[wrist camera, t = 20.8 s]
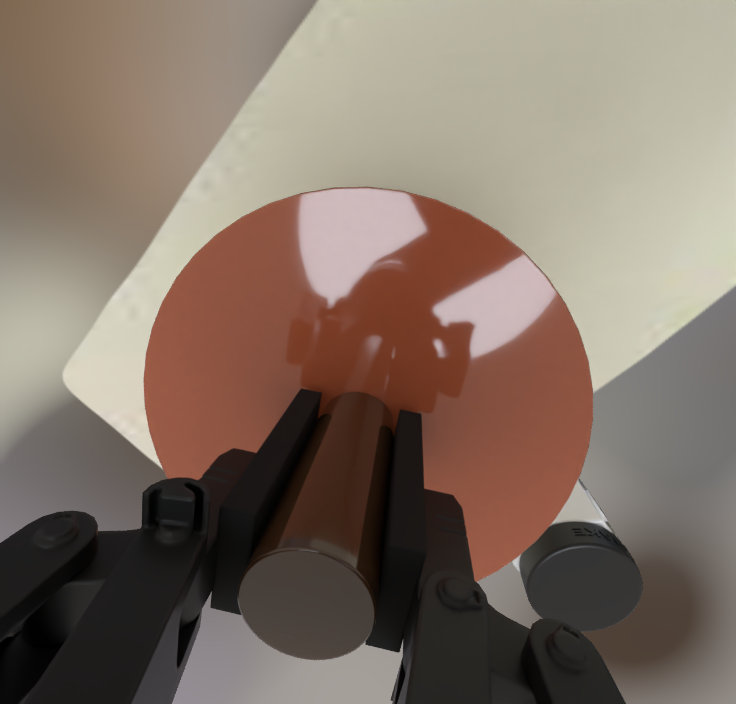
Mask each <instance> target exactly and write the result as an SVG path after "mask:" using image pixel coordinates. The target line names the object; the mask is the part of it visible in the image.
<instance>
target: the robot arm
mask: <svg viewBox="0 0 736 704" xmlns="http://www.w3.org/2000/svg"><path fill="white" fill-rule="evenodd" d="M321 396H322V393H321V392H317V391H312V390H307V389H302V388H301V389H300V390H299V392H298V393H297V395H296V396H295V398H294V399H293V401H292V402H291V403H290V405H289V406H288V408H287V409H286V411H285V412H284V414H283V415H282V417H281V418H280V420H279V421H278V422H277V424H276V425H275V427H274V428H273V430H272V431H271V433H270V434H269V436H268V437H267V438H266V440H265V441H264V443H263V444H262V446H261V447H260V449H259V450H258V452H257V453H255V452H250V451H246V450H241V449H236V448H232V449H231V450H229V451H227V452H225V453H223V454H221V455H219V456H218V457H217V458H216V460H215V461H214V462H213V463H212V464H211V466H210V468H209V469H207V470H206V472H205V473H204V474H203V475H202V478H200V479H199V480H196V479H192V478H184V477H175V478H170V479H166V480H162V481H159V482H157V483H155V484H153V485H151V486H150V487H149V488H147V489H146V490H145V491H144V492H143V499H142V501H143V502H142V527H141V528H140V529H137V530H127V531H98V525H97V522H96V520H95V518H94V517H92V516H91V515H89V514H87V513H85V512H78V511H64V512H57V513H53V514H50V515H46V516H43V517H41V518H39V519H37V520H35V521H33V522H31V523H30V524H28V525H26V526H25V527H23V528H22V529H20V530H19V531H18V532H16V533H15V534H13V535H12V536H10V537H9V538H8V539H6V540H4V541H3V542H1V543H0V704H172V701H173V699H174V696H175V693H176V691H177V688H178V685H179V682H180V680H181V677H182V674H183V672H184V669H185V666H186V663H187V661H188V658H189V655H190V652H191V650H192V647H193V644H194V641H195V639H196V636H197V633H198V631H199V628H200V621H201V613H202V612H201V611H202V608H203V606H204V604H205V602H206V601H207V599H208V597H209V595H210V593H211V591H212V596H211V608H214V609H218V610H222V611H227V612H231V613H235V614H239V615H242V614H241V612H240V609H239V605H238V585H239V581H240V578H241V576H242V574H243V572H244V569H245V567H246V565H247V563H248V561H249V559H250V557H251V555H252V553H253V551H254V549H255V547H256V545H257V543H258V541H259V539H260V537H261V535H262V533H263V531H264V529H265V527H266V525H267V523H268V521H269V518H270V516H271V514H272V512H273V510H274V508H275V506H276V504H277V502H278V500H279V498H280V496H281V494H282V492H283V490H284V488H285V486H286V484H287V482H288V480H289V478H290V476H291V474H292V472H293V469H294V467H295V465H296V463H297V461H298V459H299V457H300V455H301V453H302V451H303V449H304V447H305V445H306V443H307V441H308V439H309V437H310V435H311V433H312V431H313V429H314V427H315V425H316V423H317V420H318V414H319V408H320V402H321ZM464 524H465V520H464V514H463V508H462V507H461V505H460V504H459V503H458V501H457V500H456V498H455V497H454V495H452V494H447V493H443V492H438V491H434V490H429V489H424V467H423V440H422V414H421V413H416V412H411V411H406V410H402V409H400V412H399V416H398V421H397V425H396V429H395V434H394V440H393V450H392V461H391V471H390V482H389V492H388V503H387V513H386V524H385V534H384V545H383V555H382V566H381V576H380V586H379V601H378V612H377V619H376V623H375V626H374V629H373V631H372V632H371V634H370V636H369V637H368V638H367V640H366V645H369V646H374V647H378V648H382V649H386V650H390V651H394V652H400V648H401V644H402V641H403V658H402V661H401V665H400V668H399V672H398V675H397V679H396V683H395V686H394V690H393V693H392V697H391V701H393V704H626V703H625V701H624V699H623V697H622V696H621V693H620V692H619V690H618V688H617V686H616V684H615V682H614V680H613V678H612V676H611V674H610V673H609V671H608V669H607V667H606V665H605V663H604V661H603V659H602V657H601V655H600V654H599V653H598V651H597V650H596V649H595V647H594V645H593V644H592V642H590V641H589V640H588V639H587V638H586V637H585V636H584V635H583V634H582V633H581V632H580V631H578V630H577V629H575V628H573V627H572V626H570V625H568V624H567V623H565V622H562V621H559V620H555V619H552V618H549V619H540V620H538V621H536V622H535V623H533V624H532V627H531V629H529V628H527V627H525V626H523V625H521V624H519V623H517V622H515V621H513V620H511V619H509V618H507V617H506V616H504V615H502V614H501V613H499V612H498V611H496V610H495V609H494V608H493V607H492V606H491V605H489V604H488V601H487V597H486V594H485V593H484V591H483V590H482V589H481V587H480V585H479V584H478V583H477V582H475V580H474V574H473V568H472V562H471V556H470V550H469V544H468V538H467V536H466V534H467V532H466V526H465V525H464Z"/></svg>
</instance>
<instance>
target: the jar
mask: <svg viewBox="0 0 736 704" xmlns="http://www.w3.org/2000/svg"><path fill="white" fill-rule="evenodd" d="M512 562H513V565H514V566H515V567H516V569H517V570H518V571H519V572H520V574H521V577H522V579H523V583H524V587H525V590H526V593H527V597H528V600H529V602H530V604H531V606H532V607H533V609H534V610H535V612H536V613H537V614H538V615H539V616H541V618H543V619H549V618H552V619H555V620H559V621H562V622H565V623H567V624H568V625H570V626H572V627H573V628H575V629H577V630H578V631H580V632H586V631H596V630H601V629H605V628H608V627H610V626H612V625H615V624H617V623H619V622H621V621H622V620H623V619H625V618H626V617H627V616H629V615H630V614H631V613H632V612H633V610H634V609H635V608H636V606H637V605H638V603H639V601H640V598H641V595H642V590H643V582H642V577H641V574H640V572H639V570H638V567H637V566H636V564H635V562H634V559H633V558H632V556H631V554H630V553H629V552H628V550H627V548H626V547H625V546H624V545H623V544H622V543H621V541H620V540H619V538H618V537H617V535H616V534H615V532H614V531H613V529H612V528H611V526H610V525H609V523H608V519H607V517H606V516H605V514H604V513H603V512H602V510H601V508H600V507H599V506H598V504H597V502H596V501H595V499H594V498H593V497H592V495H591V494H590V492H589V491H588V490H587V489H586V487H585V486H584V485H583V483H582V482H581V481H580V479H579V478H578V480H577V482H576V484H575V487H574V489H573V491H572V493H571V495H570V497H569V499H568V500H567V502H566V503H565V505H564V507H563V508H562V510H561V511H560V513H559V514H558V516H557V517H556V519H555V520H554V521H553V522H552V524H551V525H550V526H549V527H548V528H547V529H546V530H545V532H544V533H543V534H542V535H541V536H540V537H539V538H538V540H537V541H535V542H534V543H533V544H532V545H531V546H530V547H529V548H527V549H526V550H525V551H524V552H523V553H522V554H521V555H519V556H518V557H517V558H516V559H514V560H513V561H512Z"/></svg>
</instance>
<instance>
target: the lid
mask: <svg viewBox="0 0 736 704" xmlns="http://www.w3.org/2000/svg"><path fill="white" fill-rule="evenodd" d="M301 388H302V389H307V390H312V391H317V392H321V393H322V396H321V402H320V408H319V414H318V420H317V423H316V425H315V427H314V429H313V431H312V433H311V435H310V437H309V439H308V441H307V443H306V445H305V447H304V449H303V451H302V453H301V455H300V457H299V459H298V461H297V463H296V465H295V467H294V469H293V472H292V474H291V476H290V478H289V480H288V482H287V484H286V486H285V488H284V490H283V492H282V494H281V496H280V498H279V500H278V502H277V504H276V506H275V508H274V510H273V512H272V514H271V516H270V518H269V521H268V523H267V525H266V527H265V529H264V531H263V533H262V535H261V537H260V539H259V541H258V543H257V545H256V547H255V549H254V551H253V553H252V555H251V557H250V559H249V561H248V563H247V565H246V567H245V569H244V572H243V574H242V576H241V578H240V581H239V585H238V605H239V609H240V612H241V614H242V617H243V619H244V621H245V622H246V624H247V625H248V627H249V628H250V629H251V631H252V632H253V633H254V634H255V635H256V636H257V637H258V638H259V639H261V640H262V641H263V642H264V643H266V644H267V645H269V646H270V647H272V648H274V649H276V650H278V651H280V652H282V653H285V654H287V655H290V656H293V657H297V658H301V659H308V660H326V659H333V658H338V657H341V656H344V655H346V654H348V653H351V652H352V651H354V650H356V649H357V648H359V647H360V646H361V645H362V644H363V643H364V642H365V641H366V640H367V638H368V637H369V636H370V634H371V632H372V631H373V629H374V626H375V623H376V619H377V612H378V601H379V586H380V576H381V566H382V555H383V545H384V534H385V524H386V513H387V503H388V492H389V482H390V471H391V461H392V450H393V440H394V434H395V429H396V425H397V421H398V416H399V412H400V409H402V410H406V411H411V412H416V413H421V414H422V440H423V467H424V489H429V490H434V491H438V492H443V493H447V494H452V495H454V497H455V498H456V500H457V501H458V503H459V504H460V505H461V507H462V508H463V514H464V520H465V524H464V525H465V526H466V532H467V534H466V536H467V538H468V544H469V550H470V556H471V562H472V568H473V574H474V580H475V582H477V581H479V580H481V579H483V578H485V577H487V576H489V575H491V574H493V573H495V572H496V571H498V570H499V569H501V568H502V567H504V566H505V565H507V564H508V563H510V562H511V561H513V560H514V559H516V558H517V557H518V556H519V555H521V554H522V553H523V552H524V551H525V550H526V549H527V548H529V547H530V546H531V545H532V544H533V543H534V542H535V541H537V540H538V538H539V537H540V536H541V535H542V534H543V533H544V532H545V530H546V529H547V528H548V527H549V526H550V525H551V524H552V522H553V521H554V520H555V519H556V517H557V516H558V514H559V513H560V511H561V510H562V508H563V507H564V505H565V503H566V502H567V500H568V499H569V497H570V495H571V493H572V491H573V489H574V487H575V484H576V482H577V480H578V478H579V476H580V474H581V471H582V467H583V464H584V461H585V457H586V454H587V451H588V448H589V442H590V435H591V428H592V421H593V388H592V382H591V375H590V369H589V362H588V358H587V355H586V352H585V349H584V345H583V342H582V339H581V336H580V333H579V330H578V328H577V326H576V324H575V322H574V320H573V318H572V316H571V314H570V312H569V310H568V308H567V306H566V304H565V302H564V301H563V299H562V298H561V296H560V295H559V293H558V292H557V290H556V289H555V287H554V286H553V284H552V283H551V282H550V280H549V279H548V277H547V276H546V275H545V274H544V273H543V272H542V271H541V269H540V268H539V267H538V266H537V265H536V264H535V263H534V262H533V261H532V260H531V259H530V258H529V256H528V255H527V254H526V253H525V252H524V251H523V250H521V249H520V248H519V247H518V246H516V245H515V244H514V243H513V242H511V241H510V240H509V239H508V238H506V237H505V236H504V235H503V234H501V233H500V232H499V231H498V230H496V229H494V228H493V227H491V226H489V225H488V224H486V223H484V222H483V221H481V220H479V219H478V218H476V217H474V216H473V215H471V214H469V213H467V212H465V211H462V210H460V209H458V208H455V207H453V206H450V205H448V204H446V203H443V202H441V201H438V200H436V199H432V198H428V197H425V196H421V195H417V194H413V193H409V192H405V191H400V190H392V189H383V188H375V187H339V188H329V189H323V190H317V191H311V192H305V193H300V194H297V195H294V196H291V197H288V198H285V199H281V200H278V201H275V202H272V203H269V204H267V205H265V206H263V207H261V208H259V209H257V210H255V211H253V212H251V213H249V214H247V215H245V216H243V217H241V218H240V219H238V220H237V221H235V222H234V223H232V224H231V225H229V226H228V227H227V228H225V229H224V230H222V231H221V232H219V233H218V234H216V235H215V236H214V237H213V238H212V239H211V240H210V241H209V242H208V243H207V244H206V245H205V246H203V247H202V248H201V249H200V250H199V251H198V252H197V253H196V254H195V255H194V256H193V257H192V259H191V260H190V261H189V262H188V264H187V265H186V266H185V267H184V269H183V270H182V271H181V273H180V274H179V275H178V276H177V278H176V279H175V281H174V283H173V284H172V286H171V288H170V290H169V291H168V293H167V295H166V297H165V298H164V300H163V302H162V304H161V307H160V309H159V312H158V314H157V317H156V319H155V322H154V325H153V327H152V331H151V335H150V339H149V343H148V348H147V352H146V360H145V371H144V398H145V410H146V415H147V421H148V426H149V432H150V435H151V438H152V441H153V444H154V447H155V450H156V454H157V456H158V459H159V461H160V463H161V465H162V467H163V470H164V472H165V474H166V476H167V478H168V479H170V478H175V477H184V478H192V479H196V480H199V479H200V478H202V475H203V474H204V473H205V472H206V470H207V469H209V468H210V466H211V464H212V463H213V462H214V461H215V460H216V458H217V457H218V456H219V455H221V454H223V453H225V452H227V451H229V450H231V449H232V448H236V449H241V450H246V451H250V452H255V453H257V452H258V450H259V449H260V447H261V446H262V444H263V443H264V441H265V440H266V438H267V437H268V436H269V434H270V433H271V431H272V430H273V428H274V427H275V425H276V424H277V422H278V421H279V420H280V418H281V417H282V415H283V414H284V412H285V411H286V409H287V408H288V406H289V405H290V403H291V402H292V401H293V399H294V398H295V396H296V395H297V393H298V392H299V390H300V389H301Z"/></svg>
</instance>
